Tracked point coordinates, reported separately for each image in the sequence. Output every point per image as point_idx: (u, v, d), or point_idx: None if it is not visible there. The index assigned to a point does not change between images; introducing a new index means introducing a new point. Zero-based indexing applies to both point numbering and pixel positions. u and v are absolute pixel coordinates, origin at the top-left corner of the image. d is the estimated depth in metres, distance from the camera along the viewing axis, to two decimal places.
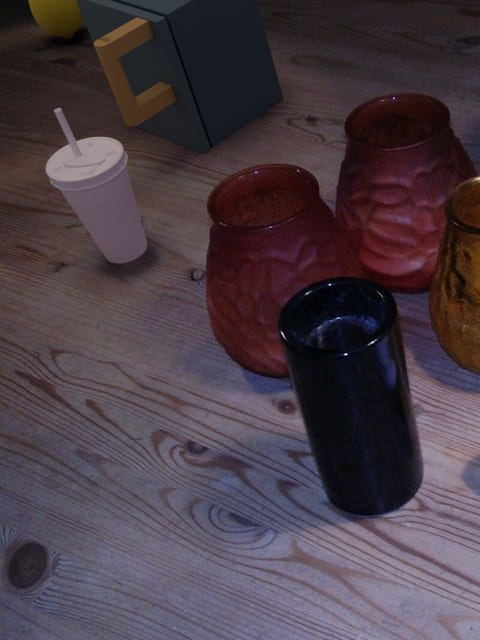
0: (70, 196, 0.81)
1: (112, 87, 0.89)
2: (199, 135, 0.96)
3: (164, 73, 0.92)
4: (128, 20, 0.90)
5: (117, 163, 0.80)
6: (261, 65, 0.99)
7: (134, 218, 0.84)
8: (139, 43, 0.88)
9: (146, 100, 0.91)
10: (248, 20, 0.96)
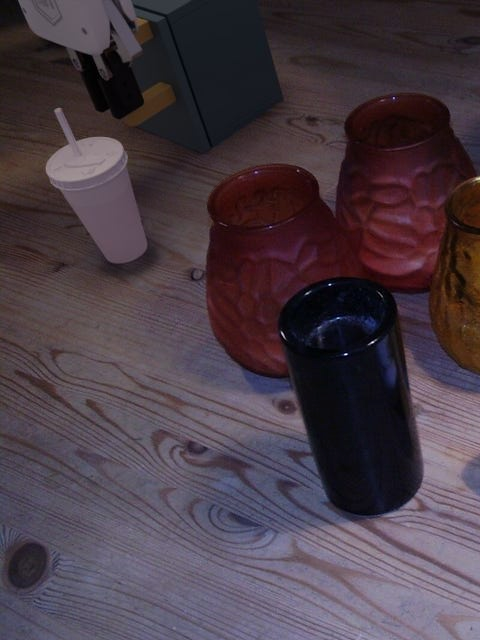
0: (70, 196, 0.81)
1: None
2: (199, 135, 0.96)
3: (164, 73, 0.92)
4: None
5: (117, 163, 0.80)
6: (261, 65, 0.99)
7: (134, 218, 0.84)
8: (139, 43, 0.88)
9: (146, 100, 0.91)
10: (248, 20, 0.96)
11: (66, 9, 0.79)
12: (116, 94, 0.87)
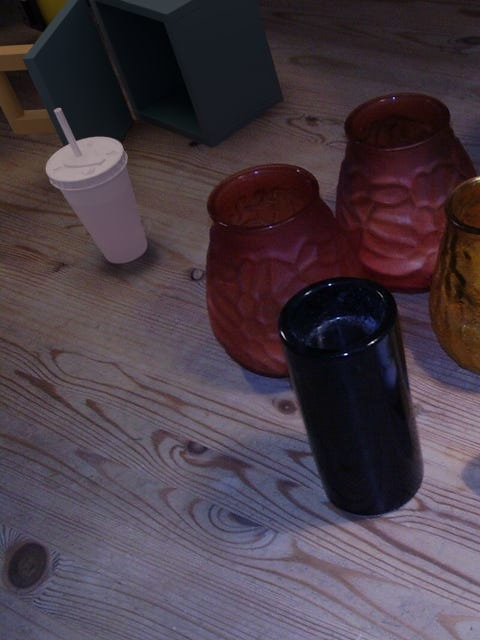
0: (70, 196, 0.81)
1: None
2: None
3: None
4: None
5: (117, 163, 0.80)
6: (261, 65, 0.99)
7: (134, 218, 0.84)
8: (17, 68, 0.87)
9: (28, 118, 0.91)
10: (248, 20, 0.96)
11: None
12: None
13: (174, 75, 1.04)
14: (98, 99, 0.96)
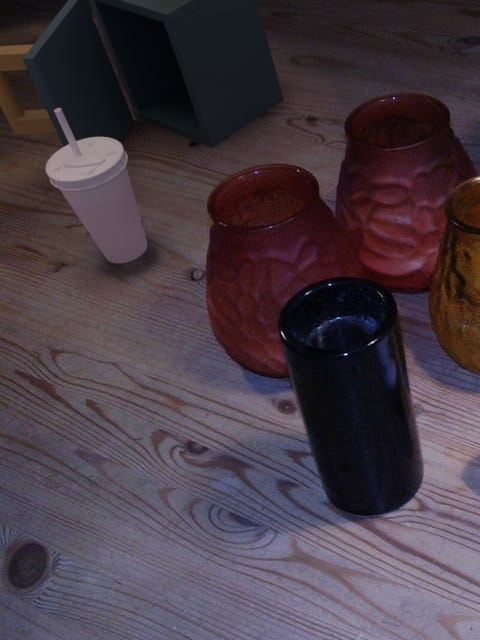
0: (70, 196, 0.81)
1: None
2: None
3: None
4: None
5: (117, 163, 0.80)
6: (261, 65, 0.99)
7: (134, 218, 0.84)
8: (17, 68, 0.87)
9: (28, 118, 0.91)
10: (248, 20, 0.96)
11: None
12: None
13: (174, 75, 1.04)
14: (98, 99, 0.96)
